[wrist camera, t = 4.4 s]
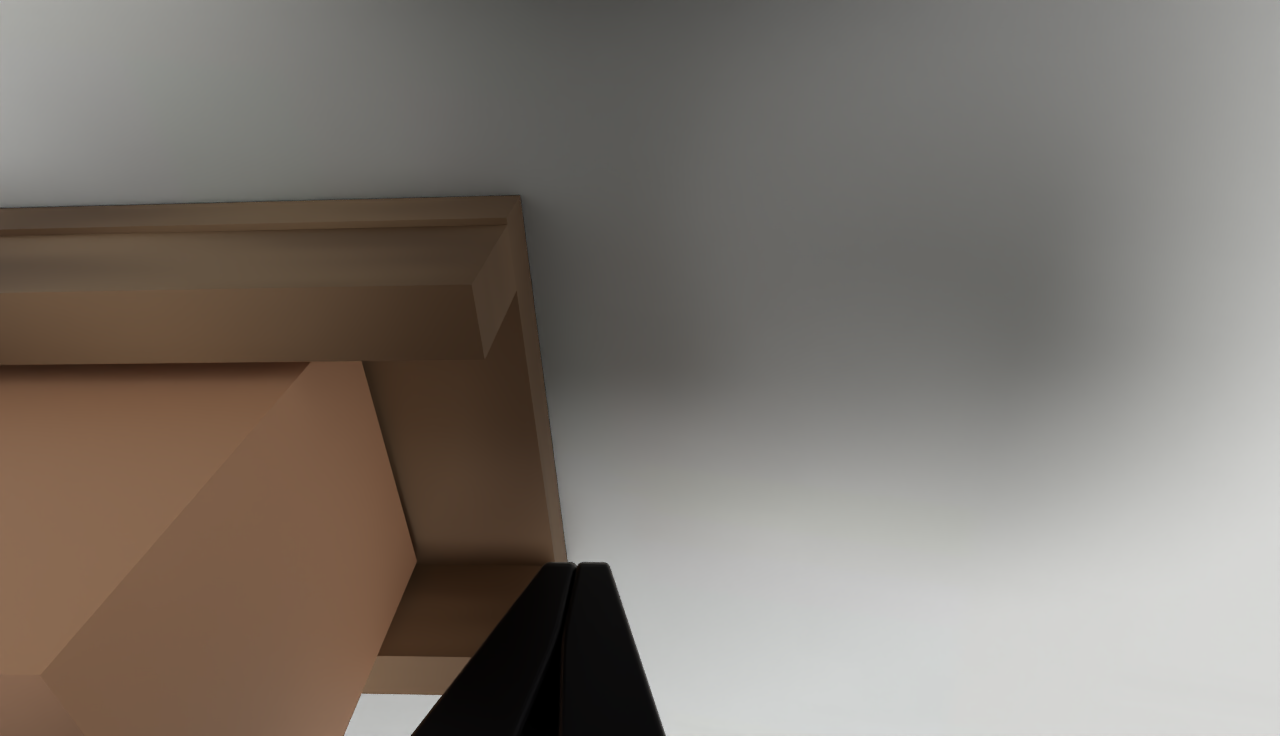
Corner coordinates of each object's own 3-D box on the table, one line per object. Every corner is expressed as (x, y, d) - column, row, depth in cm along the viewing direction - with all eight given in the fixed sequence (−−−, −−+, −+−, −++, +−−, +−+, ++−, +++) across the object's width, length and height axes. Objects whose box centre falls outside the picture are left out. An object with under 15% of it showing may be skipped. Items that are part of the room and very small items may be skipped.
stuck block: (156, 559, 14) (-166, 943, 8) (29, 322, 11) (-548, 665, 6) (417, 561, 13) (248, 960, 8) (349, 317, 11) (40, 674, 5)
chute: (-157, 562, 16) (-319, 684, 13) (-447, 219, 12) (-760, 298, 9) (567, 567, 15) (544, 700, 12) (520, 195, 11) (470, 276, 8)
